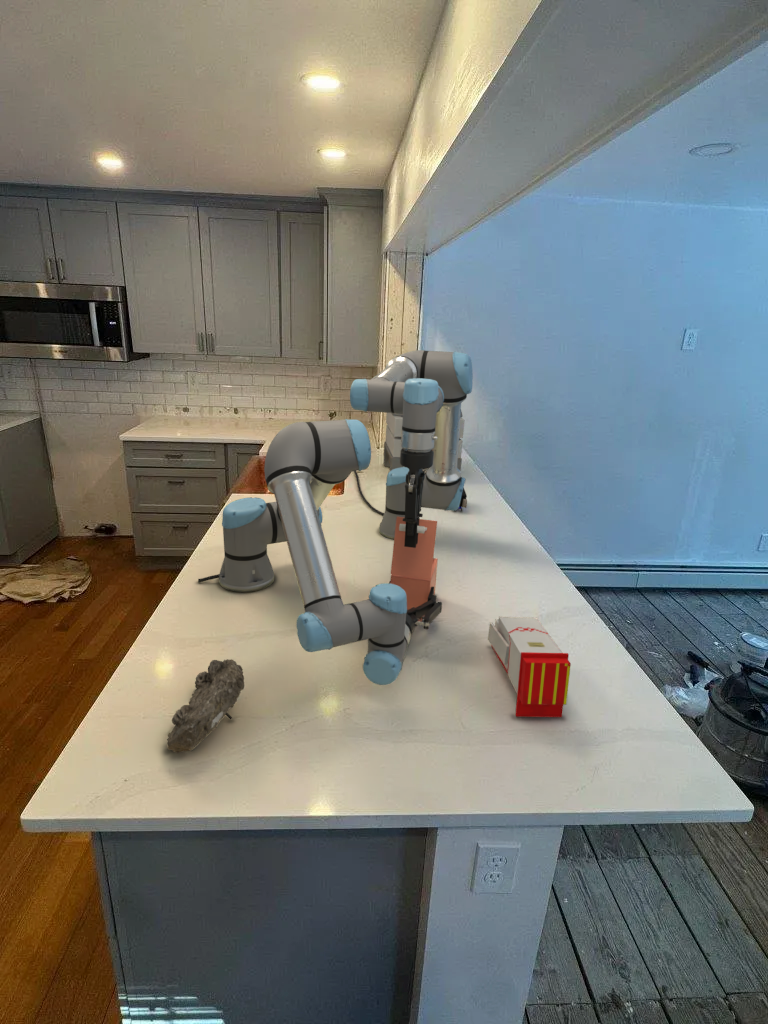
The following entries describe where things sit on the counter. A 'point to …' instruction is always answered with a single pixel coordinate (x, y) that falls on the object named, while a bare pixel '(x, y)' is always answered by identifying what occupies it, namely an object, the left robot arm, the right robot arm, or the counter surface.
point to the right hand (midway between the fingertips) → (411, 544)
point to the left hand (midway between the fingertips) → (411, 588)
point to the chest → (416, 587)
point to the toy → (531, 665)
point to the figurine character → (463, 500)
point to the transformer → (394, 441)
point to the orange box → (414, 550)
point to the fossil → (206, 705)
